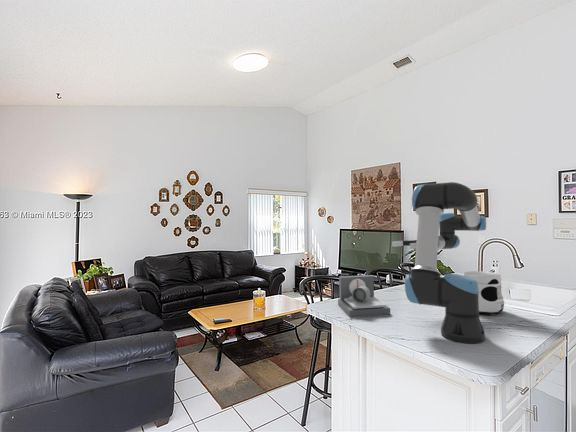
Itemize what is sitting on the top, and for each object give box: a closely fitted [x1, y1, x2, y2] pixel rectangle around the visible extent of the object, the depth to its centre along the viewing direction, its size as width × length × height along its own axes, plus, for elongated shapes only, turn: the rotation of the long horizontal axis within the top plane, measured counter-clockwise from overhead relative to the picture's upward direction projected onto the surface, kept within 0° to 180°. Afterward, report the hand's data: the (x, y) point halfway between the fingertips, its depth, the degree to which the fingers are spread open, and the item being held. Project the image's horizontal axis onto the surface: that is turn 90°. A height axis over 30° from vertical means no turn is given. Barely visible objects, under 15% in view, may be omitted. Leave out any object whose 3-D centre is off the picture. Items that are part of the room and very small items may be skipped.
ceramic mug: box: [348, 286, 370, 303], centre depth 165 cm, size 11×8×8 cm
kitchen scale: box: [337, 274, 391, 318], centre depth 166 cm, size 22×20×15 cm
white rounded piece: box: [463, 270, 505, 315], centre depth 158 cm, size 17×17×18 cm
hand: (401, 245), depth 167 cm, fingers open, 13 cm apart
